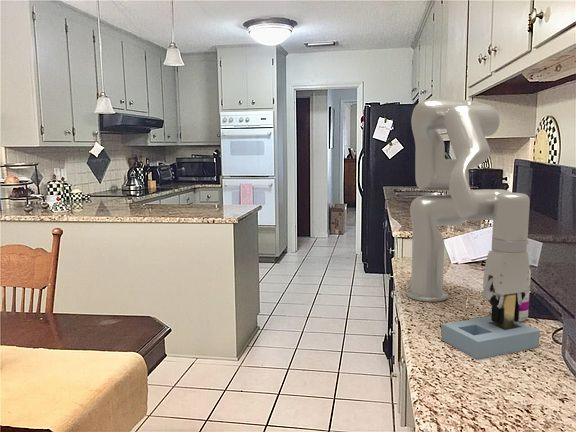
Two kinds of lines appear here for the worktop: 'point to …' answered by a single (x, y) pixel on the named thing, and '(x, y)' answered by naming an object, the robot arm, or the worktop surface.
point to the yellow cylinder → (508, 311)
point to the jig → (489, 337)
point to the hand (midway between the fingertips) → (504, 320)
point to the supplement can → (524, 304)
